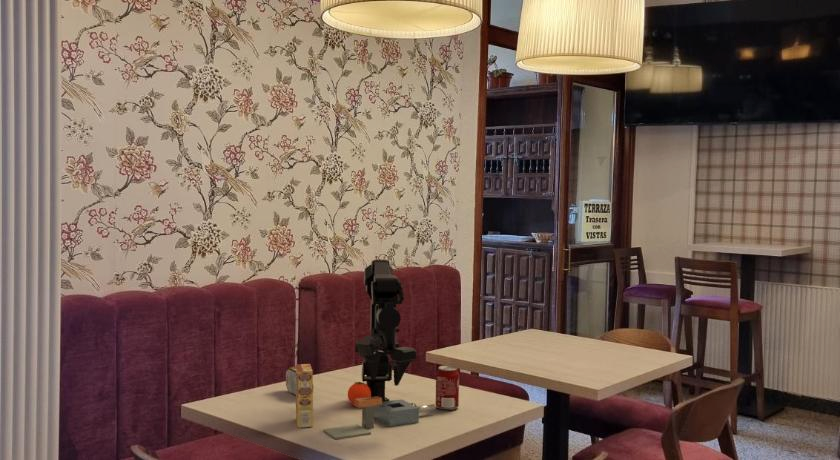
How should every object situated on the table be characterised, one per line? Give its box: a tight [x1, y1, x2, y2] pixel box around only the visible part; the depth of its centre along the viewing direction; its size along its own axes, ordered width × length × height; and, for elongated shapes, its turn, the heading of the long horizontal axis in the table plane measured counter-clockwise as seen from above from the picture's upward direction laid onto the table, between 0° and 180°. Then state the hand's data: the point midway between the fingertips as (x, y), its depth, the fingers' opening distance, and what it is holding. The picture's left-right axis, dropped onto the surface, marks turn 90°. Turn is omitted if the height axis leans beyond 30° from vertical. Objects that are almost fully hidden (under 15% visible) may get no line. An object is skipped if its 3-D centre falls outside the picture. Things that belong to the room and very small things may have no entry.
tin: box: [284, 365, 296, 397], centre depth 246 cm, size 15×3×8 cm, turn 34°
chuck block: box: [374, 399, 436, 427], centre depth 224 cm, size 10×17×4 cm, turn 119°
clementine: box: [347, 381, 371, 406], centre depth 236 cm, size 8×7×7 cm
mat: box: [323, 423, 372, 440], centre depth 209 cm, size 8×10×1 cm
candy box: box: [295, 363, 314, 428], centre depth 217 cm, size 9×4×15 cm, turn 13°
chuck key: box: [353, 396, 382, 430], centre depth 214 cm, size 2×7×8 cm, turn 119°
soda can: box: [435, 365, 460, 411], centre depth 235 cm, size 7×7×12 cm
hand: (384, 382), depth 214 cm, fingers open, 9 cm apart
